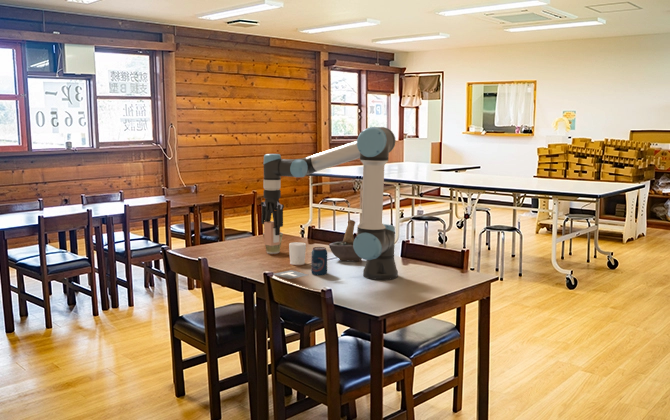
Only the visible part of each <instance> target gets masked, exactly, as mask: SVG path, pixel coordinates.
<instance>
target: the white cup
mask: <svg viewBox="0 0 670 420" xmlns="http://www.w3.org/2000/svg"><path fill="white" fill-rule="evenodd" d="M306 246H307V243H305V242H300V241H298V242H296V241H295V242H294V241H293V242H290V243H288V252H289V264H290V265H293V266H302V265H305V264H306V263H305V262H306V252H307V251H306V250H307V249H306V248H307V247H306Z"/></svg>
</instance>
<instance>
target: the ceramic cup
mask: <svg viewBox="0 0 670 420" xmlns="http://www.w3.org/2000/svg"><path fill="white" fill-rule="evenodd" d="M262 235H263V238H264V232H263V233H262ZM283 236H284V234H283V232H281V231H280V245H274V246H269V245H265V244H264V245H265V251H266V253H267V254H269V255H273V254H274V255H277V254H279V253H280V251H281V246H282V240H283Z"/></svg>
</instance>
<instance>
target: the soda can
mask: <svg viewBox="0 0 670 420" xmlns="http://www.w3.org/2000/svg"><path fill="white" fill-rule="evenodd" d="M310 260H311V264H310V265H311V268H310V269H311V270H310V271H311V274H312V275H313V276H325V275H327V274H328V251H327V248H326V247H325V246H324V247H323V246H316V247H312V250H311V259H310Z"/></svg>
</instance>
